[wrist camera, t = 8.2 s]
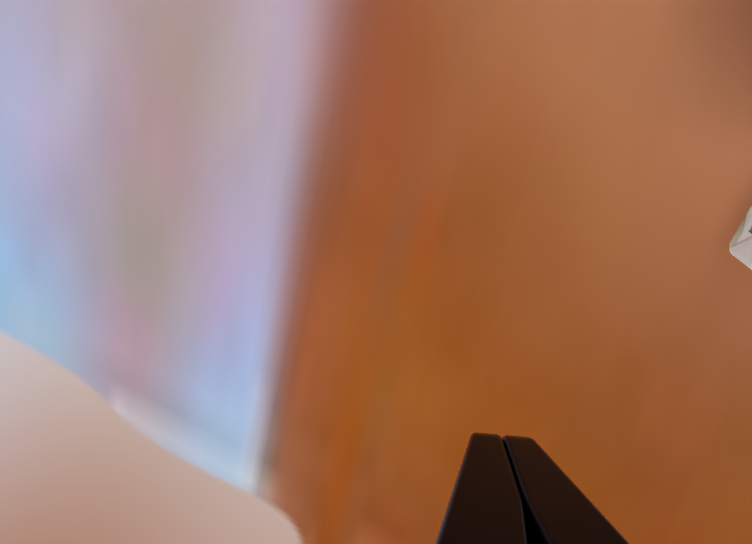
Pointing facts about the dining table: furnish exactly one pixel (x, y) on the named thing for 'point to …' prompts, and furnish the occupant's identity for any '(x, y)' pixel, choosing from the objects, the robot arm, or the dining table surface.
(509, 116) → the dining table surface
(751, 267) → the coffee box
